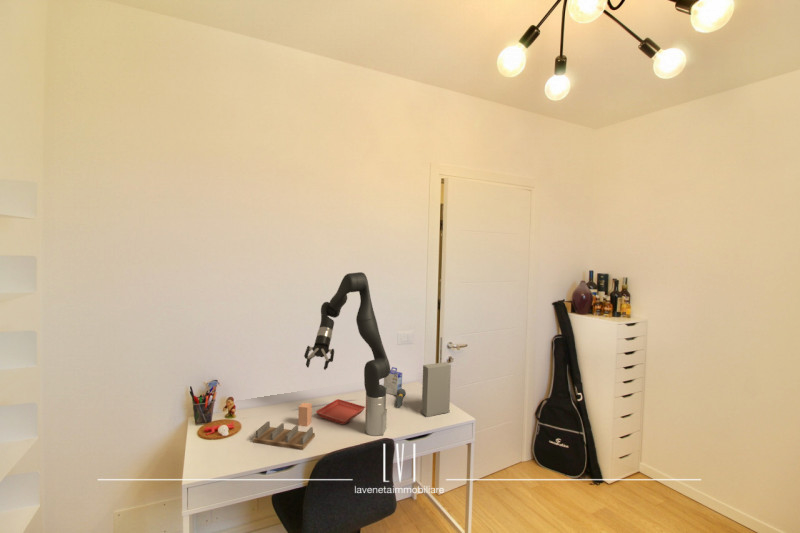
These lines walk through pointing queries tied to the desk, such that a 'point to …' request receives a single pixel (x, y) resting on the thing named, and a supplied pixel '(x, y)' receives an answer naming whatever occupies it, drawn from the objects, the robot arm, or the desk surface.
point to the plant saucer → (340, 411)
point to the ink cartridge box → (393, 382)
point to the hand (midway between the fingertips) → (316, 368)
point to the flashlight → (400, 397)
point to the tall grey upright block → (436, 389)
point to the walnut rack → (283, 436)
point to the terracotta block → (305, 414)
